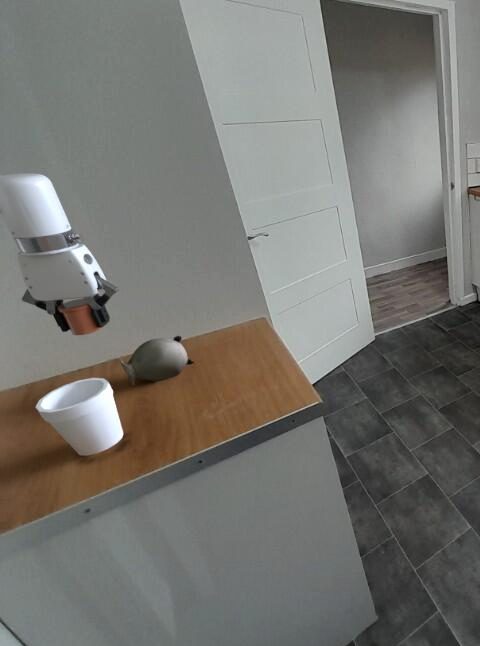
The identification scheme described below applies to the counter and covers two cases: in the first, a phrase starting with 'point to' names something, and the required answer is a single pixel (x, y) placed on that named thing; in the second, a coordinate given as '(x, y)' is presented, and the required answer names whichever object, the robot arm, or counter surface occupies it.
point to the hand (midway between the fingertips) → (86, 325)
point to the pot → (78, 317)
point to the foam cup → (83, 415)
